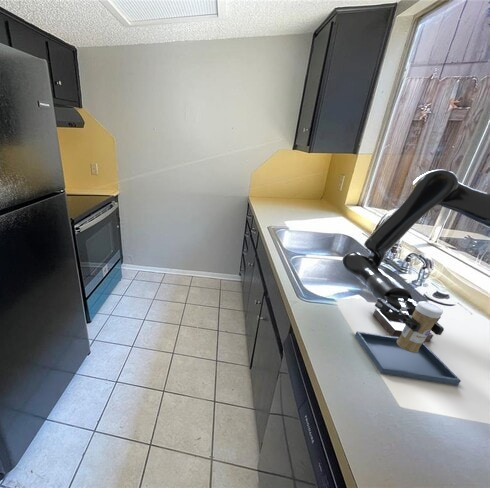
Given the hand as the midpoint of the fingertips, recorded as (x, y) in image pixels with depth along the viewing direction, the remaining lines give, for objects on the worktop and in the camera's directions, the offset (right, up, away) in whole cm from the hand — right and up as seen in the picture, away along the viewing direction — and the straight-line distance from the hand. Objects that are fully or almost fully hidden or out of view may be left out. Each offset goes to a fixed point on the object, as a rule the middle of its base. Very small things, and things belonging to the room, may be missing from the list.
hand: (428, 330), depth 63 cm
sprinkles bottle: (0, -6, +6) cm, 9 cm away
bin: (+10, -6, +19) cm, 22 cm away
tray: (0, -10, +8) cm, 13 cm away
